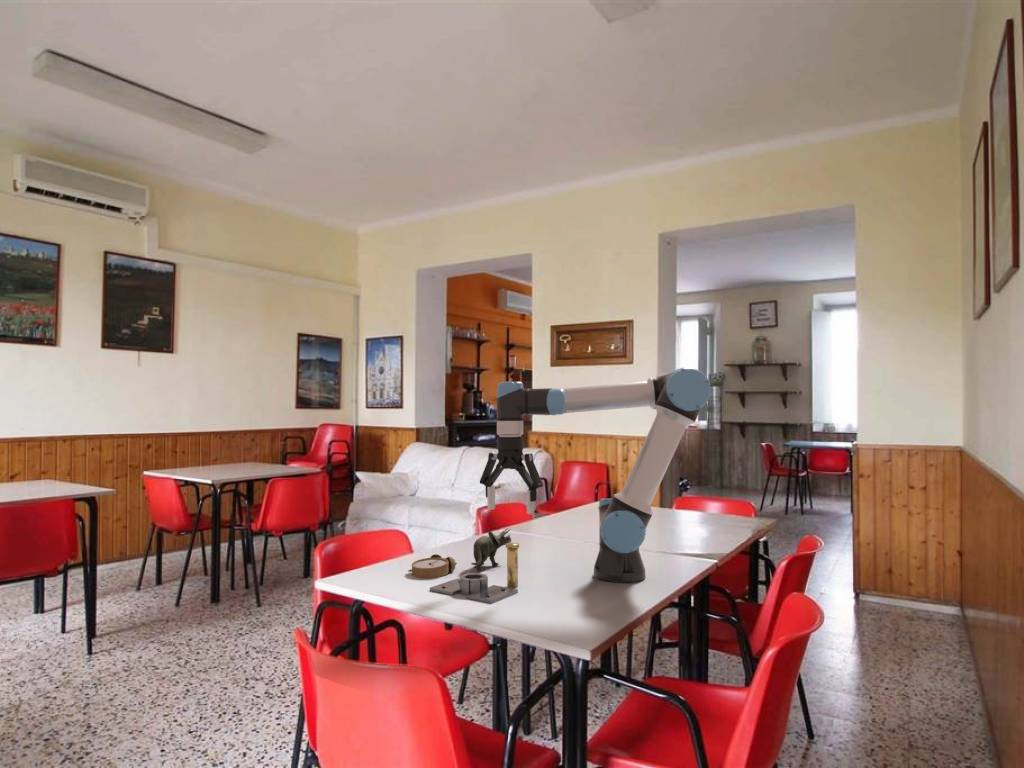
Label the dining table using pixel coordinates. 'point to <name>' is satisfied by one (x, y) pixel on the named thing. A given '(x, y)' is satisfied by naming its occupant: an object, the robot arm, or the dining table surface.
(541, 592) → the dining table surface
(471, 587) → the grey plate with ring
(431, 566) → the alarm clock
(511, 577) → the pin
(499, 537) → the dinosaur figurine
